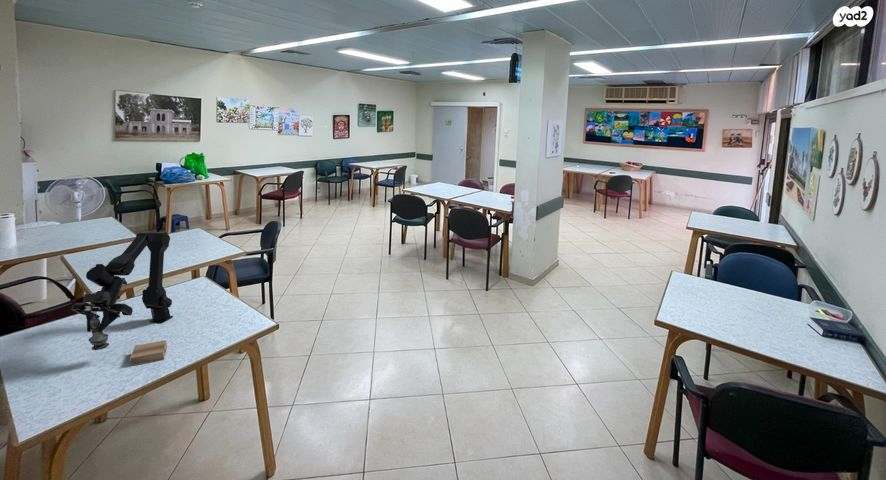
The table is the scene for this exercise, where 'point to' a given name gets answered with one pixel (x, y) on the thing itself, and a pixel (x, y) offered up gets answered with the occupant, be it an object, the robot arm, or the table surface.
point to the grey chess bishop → (97, 336)
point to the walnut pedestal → (148, 352)
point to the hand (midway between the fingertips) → (93, 331)
